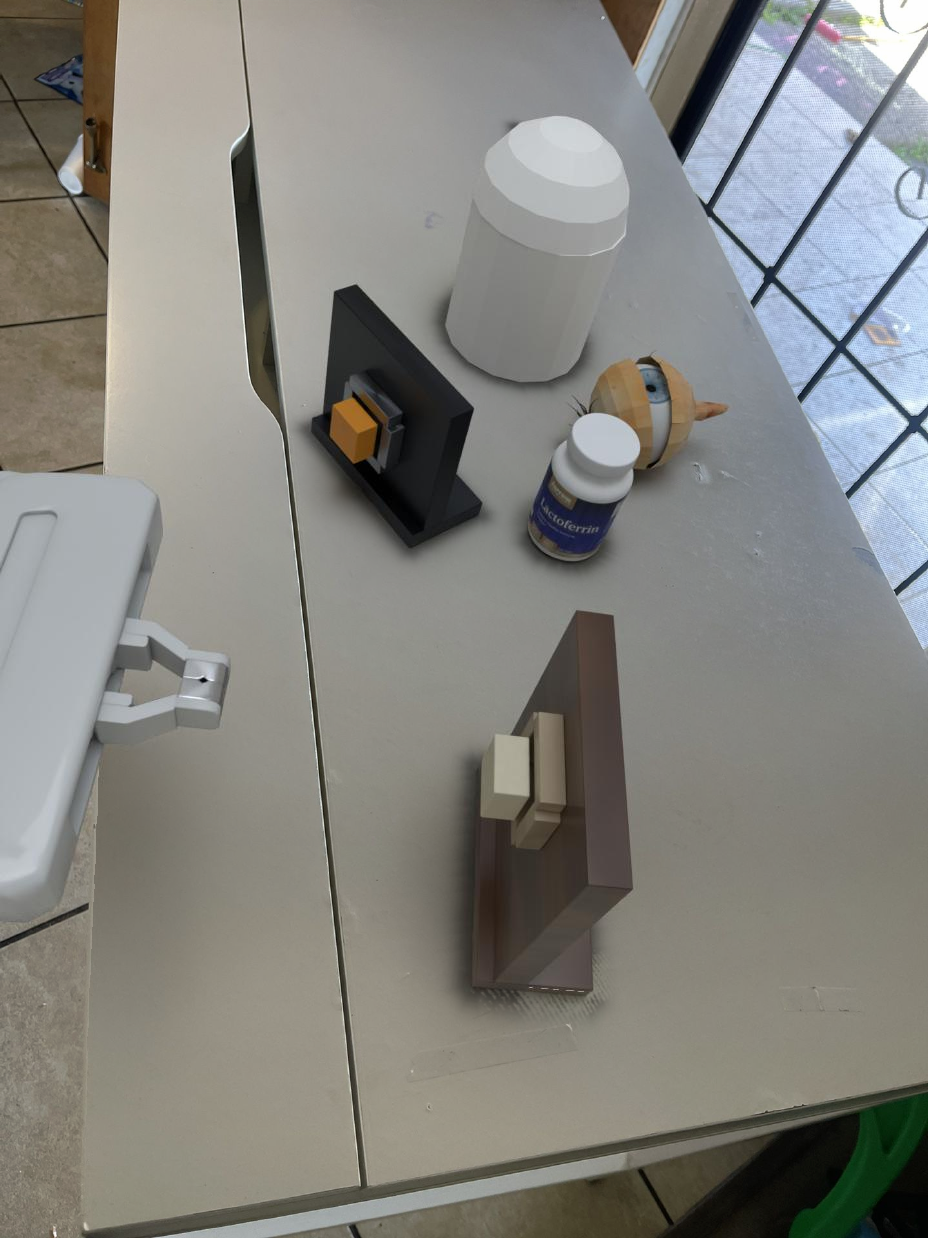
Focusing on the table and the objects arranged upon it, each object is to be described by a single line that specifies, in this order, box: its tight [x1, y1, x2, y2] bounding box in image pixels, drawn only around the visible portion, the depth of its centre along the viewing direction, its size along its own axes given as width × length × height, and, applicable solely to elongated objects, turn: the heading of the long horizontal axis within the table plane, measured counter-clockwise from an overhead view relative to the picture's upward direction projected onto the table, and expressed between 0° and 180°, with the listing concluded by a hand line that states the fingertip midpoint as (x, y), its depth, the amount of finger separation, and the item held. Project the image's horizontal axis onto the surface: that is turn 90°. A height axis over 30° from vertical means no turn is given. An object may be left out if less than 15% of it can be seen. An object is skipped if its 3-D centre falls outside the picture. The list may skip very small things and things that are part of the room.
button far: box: [330, 398, 378, 464], centre depth 67 cm, size 2×3×3 cm, turn 38°
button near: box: [480, 733, 530, 820], centre depth 46 cm, size 2×3×3 cm, turn 178°
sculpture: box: [566, 350, 730, 470], centre depth 78 cm, size 9×9×15 cm
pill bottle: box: [527, 413, 640, 562], centre depth 71 cm, size 6×6×11 cm
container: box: [444, 115, 631, 383], centre depth 80 cm, size 14×13×20 cm
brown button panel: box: [471, 609, 634, 997], centre depth 51 cm, size 7×14×20 cm, turn 178°
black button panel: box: [310, 283, 483, 549], centre depth 70 cm, size 7×14×14 cm, turn 38°
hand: (225, 692), depth 40 cm, fingers closed
